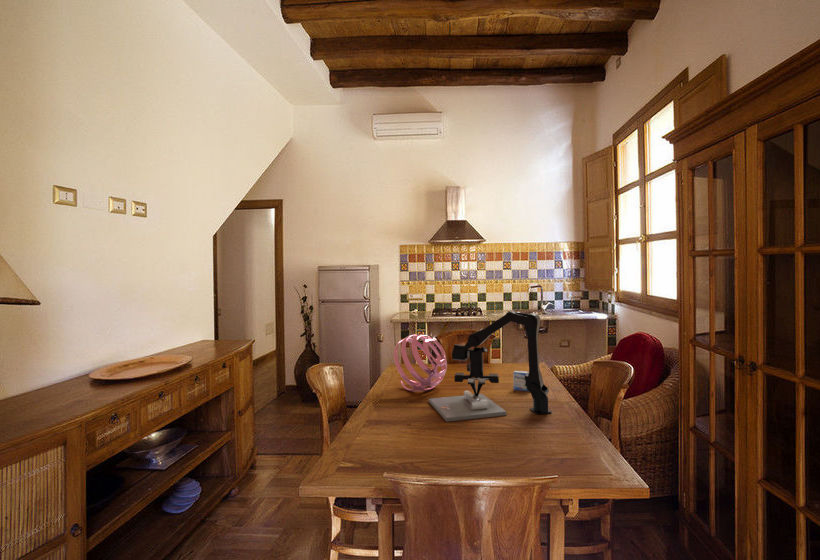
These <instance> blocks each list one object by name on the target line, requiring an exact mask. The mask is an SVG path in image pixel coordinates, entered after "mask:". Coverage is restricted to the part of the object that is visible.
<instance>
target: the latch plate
mask: <svg viewBox="0 0 820 560" xmlns="http://www.w3.org/2000/svg"><path fill="white" fill-rule="evenodd" d="M473 394H474V393H473ZM474 395H475V394H474ZM478 397H479V398H481V400H484V399H487V400H488V408H484V409H475V410H472V409H471V408H470V402H469V401H468V400H466V399H465V398H464V394H463V395H454V396H453V395H451V396H443V397H433V398H429V399H428V403H429V404H430V405H431V406H432V407H433V409H435V410H436V412H437V413H438V414H439V415H440V416H441V417H442V419H444V420H445V422H458V421H465V420H466V421H467V420H475V419H484V418H493V417H494V418H495V417H502V416H507V411H506V410H505V409H504V408H502V407H501V406H500V405H498V404H497V403H495V402H494V401H493V400H492V399H490V398H489V397H487V396H486V395H484V394H483V393H479V395H478Z"/></svg>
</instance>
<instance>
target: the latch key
mask: <svg viewBox="0 0 820 560" xmlns="http://www.w3.org/2000/svg"><path fill="white" fill-rule="evenodd" d="M463 395H464V398H465V399H466V400H468V401H469V402H470V408H471V409H472V410H475V409H484V408H488V400H487V399H484V400H481V398H479V397H476V396H475V395H474V393H472V392H471V391H470V390H464V391H463Z"/></svg>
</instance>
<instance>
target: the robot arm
mask: <svg viewBox="0 0 820 560" xmlns="http://www.w3.org/2000/svg"><path fill="white" fill-rule="evenodd" d="M511 322H512V323H516V324H518V325H522V326H523V328H524V332H525V334H526V339H527V352H528V353H527V355H528V372H529V373H527V374H526V375H525V382H526V383H525V386H527V390H528V391H529V393H530V395H531V398H532V407H530V408H529V410H530V411H532V413H535V414H536V415H544V414H553V413H552V411H551V410H550V409H549V398H548V397H549V396H548V395H549V392H550V389H549V387H547V386H546V385H545V383H544V379H543V375H542V372H541V370H540V369H541V368H540V355H539V353H540V352H539V337H538V336H539V331H540V328H541V327H540V325H541V317H540V316H539V314H537V313H536V312H531V313H524V312H518V311H517V312H516V311H514V310H510V311H508V312H506V313H505V315H503V316H501V317H500V318H498V319H497V320H495V321H493V322H492V323H491V324H489V325H488V326H486V327H485V328H482V329H480V330H478V331H475V332H473V333H471V334H469V336H468V338H467V342H466V343H465V344H457V343H456V344H453V348H452V351H451V358H452V360H453V361H463V362H464V361H465V362H466V361H468V360H469V363H467V364H466V372H469V374H465V372H455V374H454V382H455V383H462V382H464V381H465V380H467V385H470V386H471V389H472V391H473V394H475V396H476V397H478V395H479V394H480V391H481V389H482V388H483V386H485V385H486V381H489V382H490V383H491V384H499V383H500V380H499V374H498V373H489V374H488V375H484V353H486V352H488V351H489V349H487V348H486V346H485V345H482V344H484V342H486V341H487V340H488V339H489V337H491V336H492V335H493V334H494V333H496V332H497V331H499V330H500V329H503V328H504V327H505V326H507V325H508V324H510V323H511ZM481 345H482V346H481ZM480 346H481V347H480ZM473 347H474V348H473ZM476 381H477V385H476ZM528 391H527V392H528Z"/></svg>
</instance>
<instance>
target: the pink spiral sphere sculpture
mask: <svg viewBox="0 0 820 560" xmlns="http://www.w3.org/2000/svg"><path fill="white" fill-rule="evenodd" d="M419 340H422V343H421V342H420V341H419ZM407 342H408V343H410V344H411V345H410V346H411V347H410V348H411V353H412V356H413V358H414V359H415V361H416V363H417V365H418V366H419V368H420V369H421V370H422V371H424V372H425V373H426V374H427V378H425V377H422V375H420V374H419V373H418V372H417V371H416V370H415V368H414V367H413V365H412V363H411V362H410V359H409V356H408V354H407ZM433 343H434V344H435V345H434V344H433ZM400 344H401V345H400ZM399 346H401V351H400V352H401V357H402V360H403V363H404V365H405V367H406V369H407V370H408V371H409V373H410V375H411V376H412V377H413V378H414V379H415V380H417V381H415V380H411V379H409V378H408V376H407V375H406V373H405V372H404V370H403V369H402V366H401V364H400V361H399V357H398V348H399ZM436 346H437V347H436ZM429 347H430V348H431V349H432V350H433V352H434V353H435V355H436V358H435V357H434V356H433V354H432V353H431V351H430V349H429ZM418 348H419V349H420V350H421V351H422V352H423V353H424V355H425V356H426V358H427V359H428V360H429V362H430V364H431V367H432V369H431V368H430V367H429V366H427V364H426V363H425V362H424V361H423V359H422V358H421V356H420V353H419V351H418ZM437 348H438V349H439V351H438V349H437ZM445 351H446V350H445V349H444V348H443V346H442V345H441V343H440V342H439V341H437V340H436V339H434V338H432V337H431V336H429V335H427V334H421V333H420V334H410V335H407V336H406V337H404V338H402V339H400V340H398V342H397V343H396V345H395V347H394V348H393V360H394V364H395V367H396V370H397V372H398V373H399V375H400V377H401V378H402V379H403V380H404V381H405V382H406V383H407V384H408V385H409V386H410V387H411V388H408V387H407V386H406V385H405V384H404V382H403V380H402V379H401V380H400V384H401V386H402V387H403V388H404V390H406V391H408V392H428V391H431V390H432V389H434V388H436V386H437V385H439V384H440V383H442V381H443V379H444V377H445V374H446V372H447V370H448V361H447V355H446V352H445ZM438 367H440V370H441V371H439V370H438ZM432 379H433V380H432ZM425 387H428V388H425Z"/></svg>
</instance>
